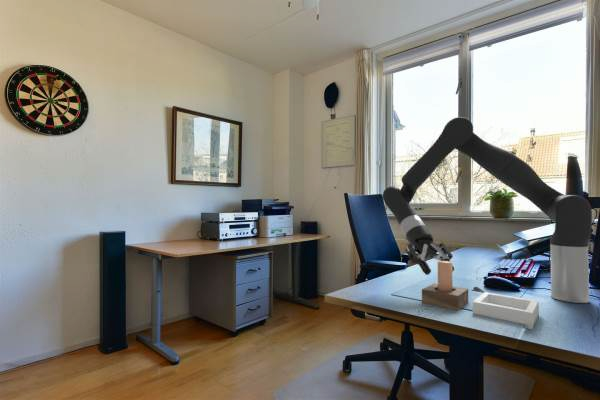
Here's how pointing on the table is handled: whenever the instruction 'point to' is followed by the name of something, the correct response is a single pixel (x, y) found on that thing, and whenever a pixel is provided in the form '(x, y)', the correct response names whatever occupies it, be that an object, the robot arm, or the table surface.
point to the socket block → (445, 297)
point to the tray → (507, 308)
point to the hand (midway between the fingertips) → (440, 272)
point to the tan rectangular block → (445, 276)
